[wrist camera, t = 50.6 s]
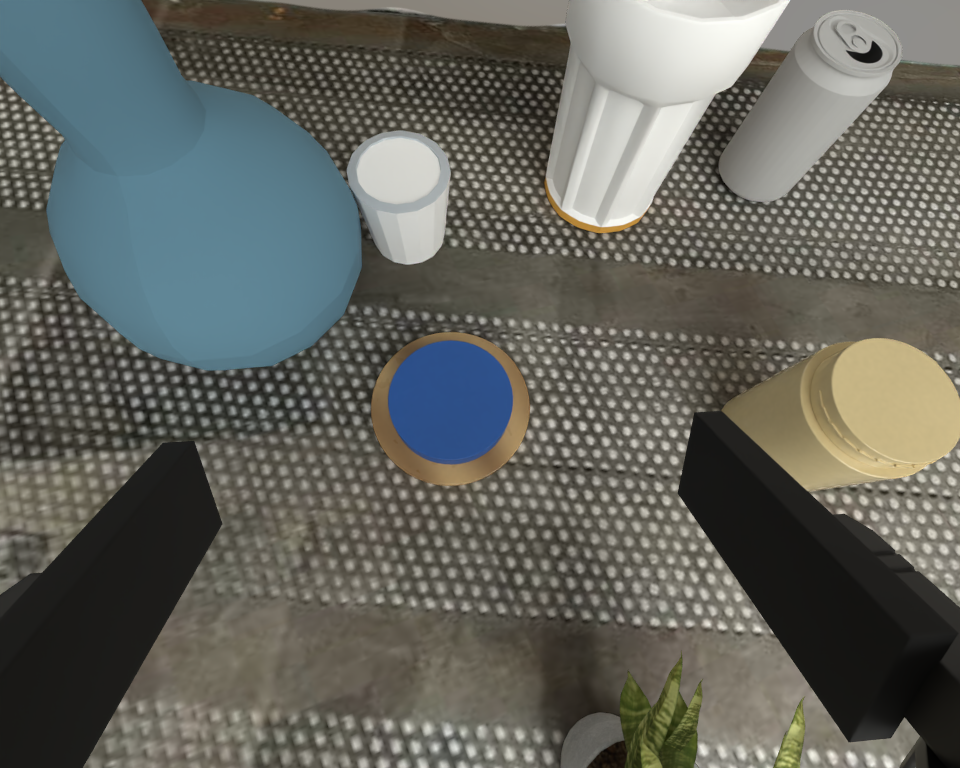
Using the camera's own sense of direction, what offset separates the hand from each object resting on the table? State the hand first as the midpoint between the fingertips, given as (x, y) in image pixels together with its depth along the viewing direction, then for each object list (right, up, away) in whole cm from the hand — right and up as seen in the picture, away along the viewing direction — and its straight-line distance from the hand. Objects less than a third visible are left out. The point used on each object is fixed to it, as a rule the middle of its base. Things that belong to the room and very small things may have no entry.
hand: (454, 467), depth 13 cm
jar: (+21, -2, +21) cm, 30 cm away
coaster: (-1, +1, +21) cm, 21 cm away
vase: (-15, +9, +23) cm, 29 cm away
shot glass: (-5, +14, +26) cm, 30 cm away
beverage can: (+24, +20, +29) cm, 43 cm away
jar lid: (-1, +1, +19) cm, 19 cm away
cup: (+11, +19, +28) cm, 35 cm away
